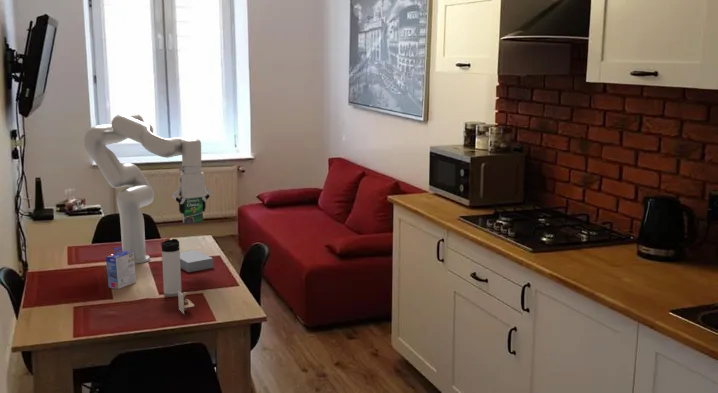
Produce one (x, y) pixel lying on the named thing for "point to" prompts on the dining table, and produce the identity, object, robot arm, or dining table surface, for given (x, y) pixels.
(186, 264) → the base block
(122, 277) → the ink cartridge box
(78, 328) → the dining table surface
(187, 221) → the coffee box
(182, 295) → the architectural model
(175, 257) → the travel mug
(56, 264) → the dining table surface
